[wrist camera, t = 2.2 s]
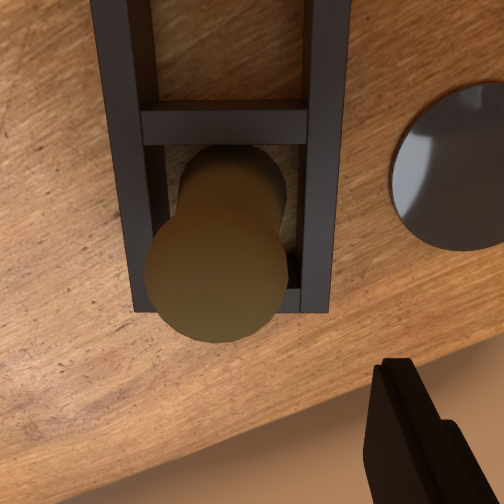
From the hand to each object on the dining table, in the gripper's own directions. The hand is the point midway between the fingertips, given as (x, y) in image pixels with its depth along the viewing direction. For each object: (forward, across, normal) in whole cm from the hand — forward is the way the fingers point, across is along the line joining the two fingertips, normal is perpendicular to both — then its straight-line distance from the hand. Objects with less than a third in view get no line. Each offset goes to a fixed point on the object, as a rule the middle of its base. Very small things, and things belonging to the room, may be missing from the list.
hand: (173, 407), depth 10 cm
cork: (+16, -1, 0) cm, 16 cm away
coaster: (+16, -14, -1) cm, 21 cm away
